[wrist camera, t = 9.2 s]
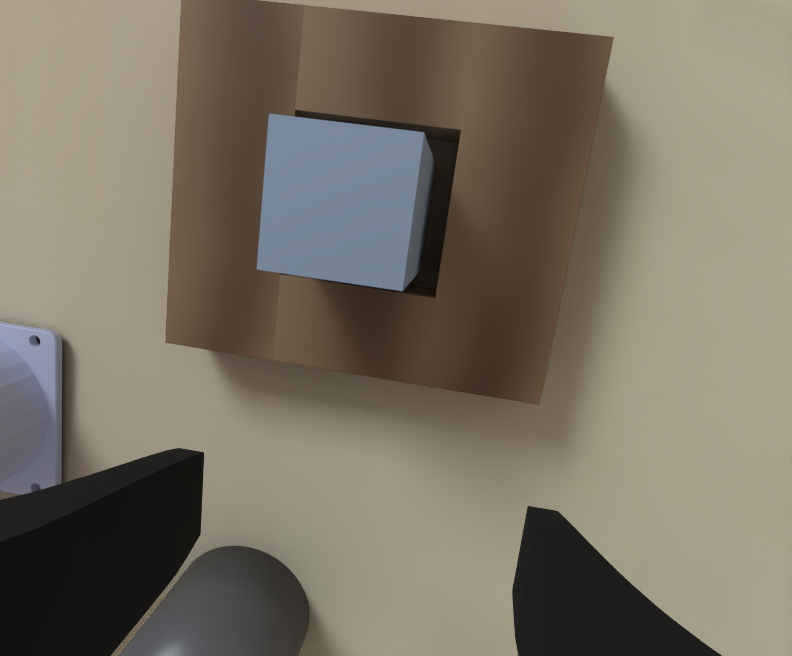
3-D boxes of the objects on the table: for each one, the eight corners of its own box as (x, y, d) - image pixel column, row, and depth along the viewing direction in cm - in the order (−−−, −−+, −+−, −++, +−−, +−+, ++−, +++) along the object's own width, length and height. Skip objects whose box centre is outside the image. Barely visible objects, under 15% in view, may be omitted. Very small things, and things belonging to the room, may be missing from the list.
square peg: (322, 256, 21) (256, 269, 14) (333, 152, 20) (269, 113, 13) (420, 270, 20) (402, 291, 14) (436, 165, 20) (424, 132, 13)
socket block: (197, 329, 22) (165, 342, 20) (215, 21, 20) (181, -8, 17) (530, 383, 21) (539, 404, 18) (593, 62, 18) (613, 37, 16)
